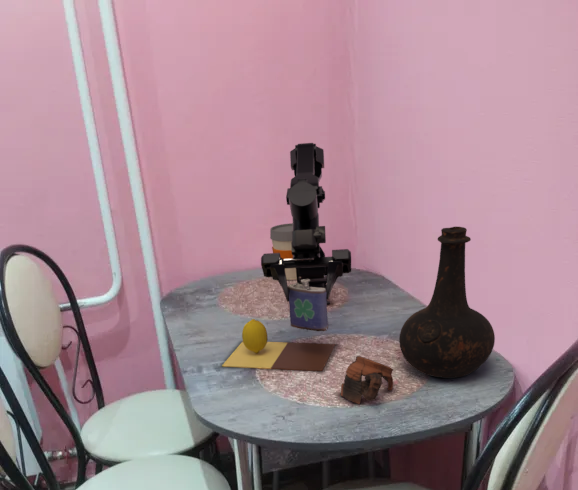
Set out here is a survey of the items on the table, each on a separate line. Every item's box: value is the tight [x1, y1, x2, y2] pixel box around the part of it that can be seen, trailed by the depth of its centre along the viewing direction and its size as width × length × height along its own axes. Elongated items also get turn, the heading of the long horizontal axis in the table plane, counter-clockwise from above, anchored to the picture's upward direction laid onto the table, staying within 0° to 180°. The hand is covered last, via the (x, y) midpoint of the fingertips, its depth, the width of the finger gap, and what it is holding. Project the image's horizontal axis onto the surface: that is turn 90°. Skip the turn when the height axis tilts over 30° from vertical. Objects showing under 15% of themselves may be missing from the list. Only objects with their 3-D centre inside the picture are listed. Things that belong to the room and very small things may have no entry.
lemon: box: [241, 318, 268, 353], centre depth 133 cm, size 6×6×8 cm
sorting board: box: [221, 340, 336, 372], centre depth 133 cm, size 14×22×1 cm, turn 75°
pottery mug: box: [340, 355, 394, 405], centre depth 112 cm, size 12×10×8 cm
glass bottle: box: [398, 226, 496, 379], centre depth 115 cm, size 18×18×28 cm
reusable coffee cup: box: [269, 222, 301, 281], centre depth 186 cm, size 13×12×15 cm
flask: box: [287, 279, 329, 332], centre depth 127 cm, size 9×3×11 cm, turn 55°
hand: (307, 299), depth 125 cm, fingers closed on flask, 8 cm apart
